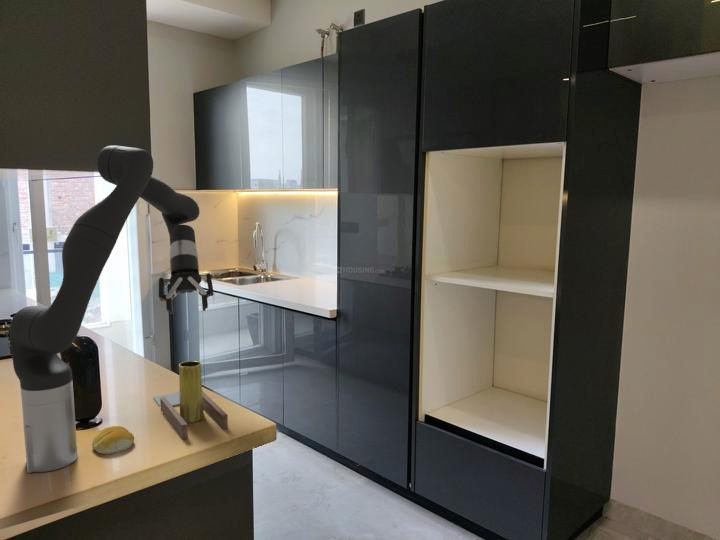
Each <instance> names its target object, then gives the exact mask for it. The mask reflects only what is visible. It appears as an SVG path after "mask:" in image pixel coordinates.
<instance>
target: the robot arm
mask: <svg viewBox="0 0 720 540" xmlns="http://www.w3.org/2000/svg"><path fill="white" fill-rule="evenodd" d="M97 155H98V156H97V159H96V167H97V171H98V173H99V176H100V177H101V178H102V179H103V180H104V181H106V182H107V183H110V184H113V186H114V185H115V188H114V189H112V191H110V193H109V194H108V195H107V196H106V197H105V198H103V199H102V200H100V201H99V202H98V203H96V204H95V205H93V206H92V207H90V208H89V209H87V210H85V212H84V213H82V214H81V215H80V216H79V217H78V218H77V219H76V220H75V222H74V224H73V225H72V227H71V229H70V231H69V233H68V235H67V237H66V238H65V241H64V243H63V246H62V250H61V260H62V263H61V264H62V274H63V275H62V282H61V285H60V288H59V290H58V291H57V293H56V295H55V298H54V300H53V302H52V303H51V305H49V306H41V305H30V306H25V307H23V308H21V309H19V310H18V311H17V312H16V313H15V314H14V316H13V318H12V320H11V322H10V326H9V342H10V343H9V345H10V353H11V358H12V365H13V370H14V373H15V375H16V377H17V379H18V380H19V385H20V395H21V406H22V424H23V433H24V434H23V435H24V447H25V448H24V449H25V457H26V458H25V460H26V469H27V473H28V474H31V473H36V472H37V473H43V472H46V473H47V472H51V471H56V470H59V469H62V468H65V467H67V466H69V465H71V464H72V463H74V462H75V461H76V460H77V459H78V442H77V441H78V440H77V428H76V412H75V399H74V398H75V397H74V384H73V371H72V368H71V366H70V365H69V363H66V362H65V361H64V360H63V359H61V358H60V356H59V355H58V354H61V353H63V352H65V351H66V350H67V349H68V348H70V347H71V345H72V344H74V342H75V340H76V339H77V336H78V334H79V331H80V329H81V326H82V323H83V320H84V318H85V314H86V311H87V309H88V306H89V303H90V300H91V297H92V295H93V293H94V291H95V288H96V285H97V284H98V281H99V279H100V277H101V274H102V272H103V270H104V267H105V266H106V265H107V264H106V263H107V262H108V260H109V258H110V256H111V254H112V252H113V250H114V247H115V245H116V244H117V242H118V239H119V236H120V234H121V232H122V230H123V228H124V225H126V222H127V220H128V218H129V216H130V214H131V212H132V211H133V209H134V207H135V206H136V204H137V203H138V201H139V199H142V200H144V201H145V202H147V203H148V204H149V205H151V206H152V207H154V208H155V209H156V210H157V211H159V212H161V216H162V219H163V221H164V223H165V225H166V228H167V231H168V234H169V263H170V265H169V266H170V278H167V279H164V278H163V277H160V278H158V298H159V301H161V302H165V305H166V306H165V307H166V312H167V313H168V314H169V315H173V314H174V309H173V300H174V298H175V297H177V296H178V294H179V293H180V294H186V293H190V294H191V293H193V292H195V293H196V294H197V295H199V296H200V297H201V306H202V311H203V312H205V311H206V309H208V307H209V305H208V304H209V302H208V299H209V297H213V296H214V287H213V280H212V275H211V273H207V274H206V275H201V274H200V268H199V255H198V250H197V249H198V248H197V245H196V244H197V243H196V234H195V230H194V228H193V227H192V226H190V225H187V223H191V222H194V221H196V220H197V219H198V217H199V215H200V207H199V204H198V203H197V201H196V200H195V199H193V198H192V197H190V196H188V195H186V194H183V193H180V192H176V191H175V190H174V189H173V188H172V187H171V186H169V185H168V184H166V182H164V181H162V180H160V179H157V178H156V177H153V176H152V175H153V172H154V171H153V170H154V159H153V156H152V155H151V153H150V152H149V151H147V150H146V149H142V148H138V147H132V146H131V147H129V146H122V145H107V146H106V147H105V146H104V147H103V148H102V149H101V150H100V151H99V152H98V154H97ZM202 281H203V282H204V284H206V285H207V289H208V290H205V289H204V288H203V287H202V286H201V282H202ZM168 285H170V286H171V288H170V289H169V291H168V293H165V289H166V288H167V287H168Z"/></svg>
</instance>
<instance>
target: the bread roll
mask: <svg viewBox="0 0 720 540" xmlns="http://www.w3.org/2000/svg"><path fill="white" fill-rule="evenodd" d="M134 442H135V436H134V434H133V433H132V432H130V431H129V430H128V429H127V428H125V427H124V426H119V425H113V426H108V427H105V428H103V429H101V430H100V431H99V432H98V433H97V434H95V436H94V437H93V440H92V442H91V446H92V449H93V450H94V451H96V452H97V453H99V454H102V455H112V454H118V453H119V452H123V450H124V451H125V450H129V448H131V446H132V445H133V444H134Z"/></svg>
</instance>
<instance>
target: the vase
mask: <svg viewBox="0 0 720 540" xmlns="http://www.w3.org/2000/svg"><path fill="white" fill-rule="evenodd" d="M178 376H179V379H178V380H179V392H180V405H179V415H180V416H181V417H182V418H183V419H184V421H185V422H186V423H187V424H189V423H196V422H199V421H201V420H203V419H204V418H205V413H204V409H203V395H202V391H203V379H202V364H201V362H200V361H198V360H186V361H182V362H180V363H179V364H178Z"/></svg>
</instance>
